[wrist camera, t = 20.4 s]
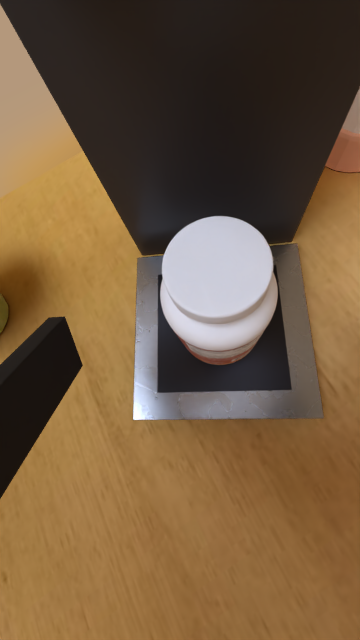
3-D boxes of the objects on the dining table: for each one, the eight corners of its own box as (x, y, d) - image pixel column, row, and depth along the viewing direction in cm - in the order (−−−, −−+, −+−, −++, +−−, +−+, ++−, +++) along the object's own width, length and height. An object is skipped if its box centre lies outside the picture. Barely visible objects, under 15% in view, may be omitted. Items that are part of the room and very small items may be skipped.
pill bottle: (188, 287, 23) (159, 195, 13) (262, 295, 22) (299, 203, 12) (174, 359, 22) (129, 323, 11) (253, 373, 21) (286, 346, 10)
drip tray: (317, 417, 21) (325, 418, 19) (138, 418, 23) (131, 420, 21) (293, 252, 25) (298, 241, 23) (141, 265, 27) (136, 255, 25)
